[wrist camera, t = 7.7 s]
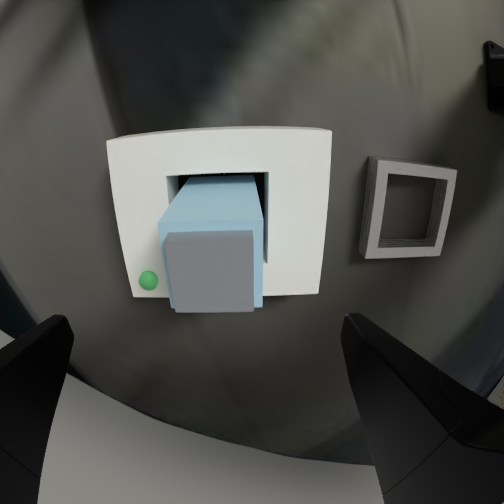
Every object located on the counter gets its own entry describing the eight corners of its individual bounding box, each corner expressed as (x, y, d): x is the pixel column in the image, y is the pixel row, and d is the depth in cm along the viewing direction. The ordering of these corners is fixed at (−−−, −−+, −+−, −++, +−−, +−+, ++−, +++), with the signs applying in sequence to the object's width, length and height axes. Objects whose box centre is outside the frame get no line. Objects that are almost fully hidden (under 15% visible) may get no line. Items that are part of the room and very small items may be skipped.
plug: (253, 174, 18) (265, 227, 10) (253, 233, 20) (263, 318, 12) (189, 176, 18) (151, 231, 10) (194, 235, 20) (168, 319, 12)
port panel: (317, 127, 17) (334, 131, 14) (308, 270, 21) (319, 297, 18) (125, 135, 16) (103, 141, 13) (145, 273, 21) (131, 300, 18)
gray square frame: (445, 165, 18) (457, 170, 16) (430, 247, 21) (439, 255, 20) (368, 156, 18) (378, 159, 16) (357, 249, 21) (365, 258, 19)
